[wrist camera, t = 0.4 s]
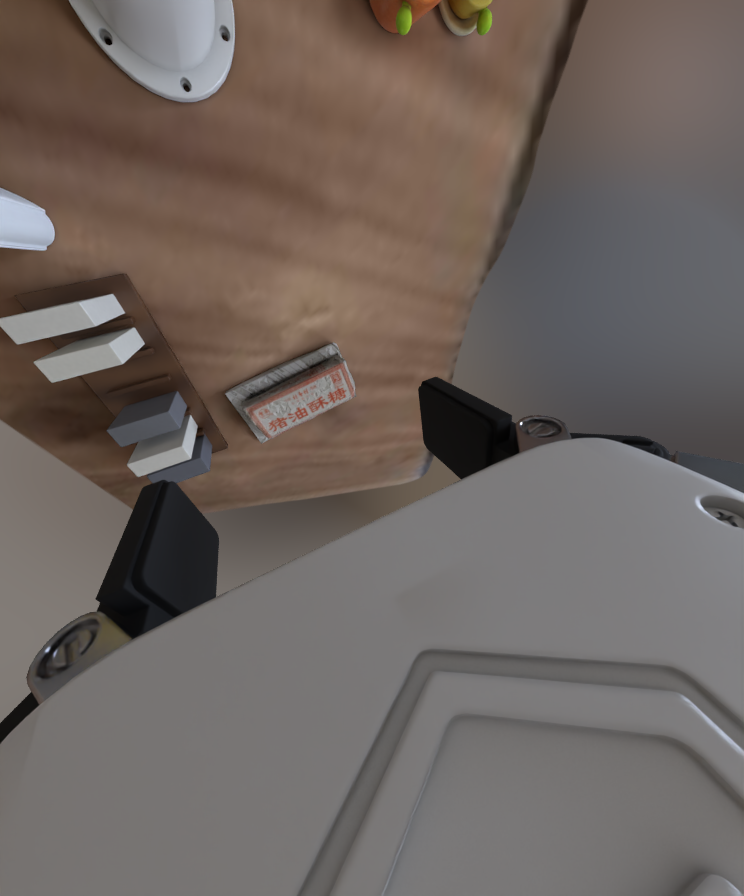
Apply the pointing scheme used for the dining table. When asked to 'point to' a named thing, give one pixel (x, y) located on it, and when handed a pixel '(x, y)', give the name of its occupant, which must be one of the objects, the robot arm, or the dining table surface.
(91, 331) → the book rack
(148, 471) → the white book
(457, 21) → the toy tea set
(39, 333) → the white book
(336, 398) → the packaged product
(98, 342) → the white book
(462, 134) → the dining table surface
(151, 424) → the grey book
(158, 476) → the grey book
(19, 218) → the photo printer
